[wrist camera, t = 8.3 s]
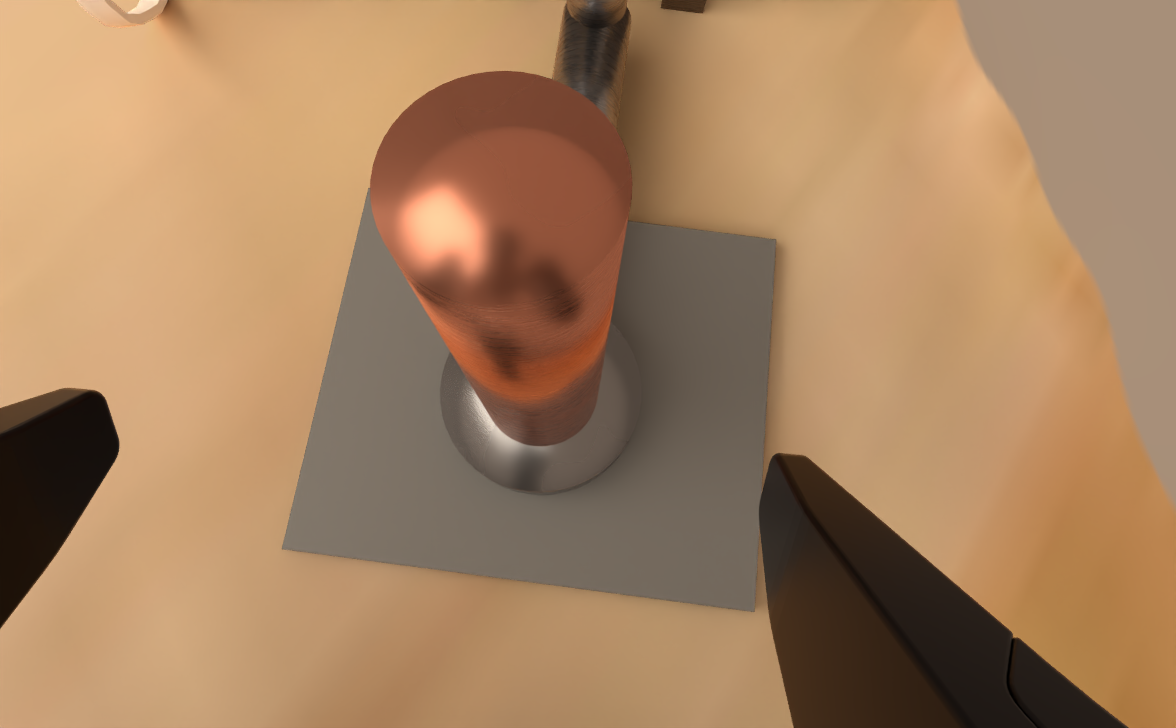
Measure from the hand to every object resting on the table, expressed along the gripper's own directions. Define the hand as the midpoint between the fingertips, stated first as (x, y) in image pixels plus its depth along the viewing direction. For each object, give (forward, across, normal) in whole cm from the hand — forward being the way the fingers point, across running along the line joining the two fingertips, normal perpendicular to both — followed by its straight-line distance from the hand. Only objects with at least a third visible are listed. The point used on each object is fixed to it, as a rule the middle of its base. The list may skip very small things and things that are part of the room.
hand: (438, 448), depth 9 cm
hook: (+15, -1, +2) cm, 15 cm away
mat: (+11, -1, +6) cm, 13 cm away
